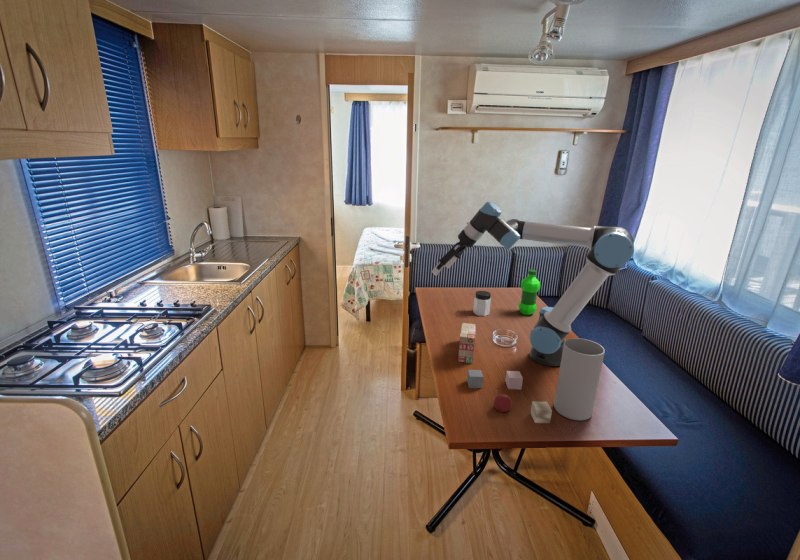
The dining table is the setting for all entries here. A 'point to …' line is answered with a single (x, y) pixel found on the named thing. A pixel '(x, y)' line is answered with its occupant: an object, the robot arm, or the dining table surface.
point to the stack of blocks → (467, 343)
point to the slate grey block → (475, 379)
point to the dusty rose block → (514, 379)
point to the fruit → (502, 402)
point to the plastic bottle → (529, 293)
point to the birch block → (541, 412)
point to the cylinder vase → (578, 378)
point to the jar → (482, 303)
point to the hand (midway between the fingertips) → (440, 270)
